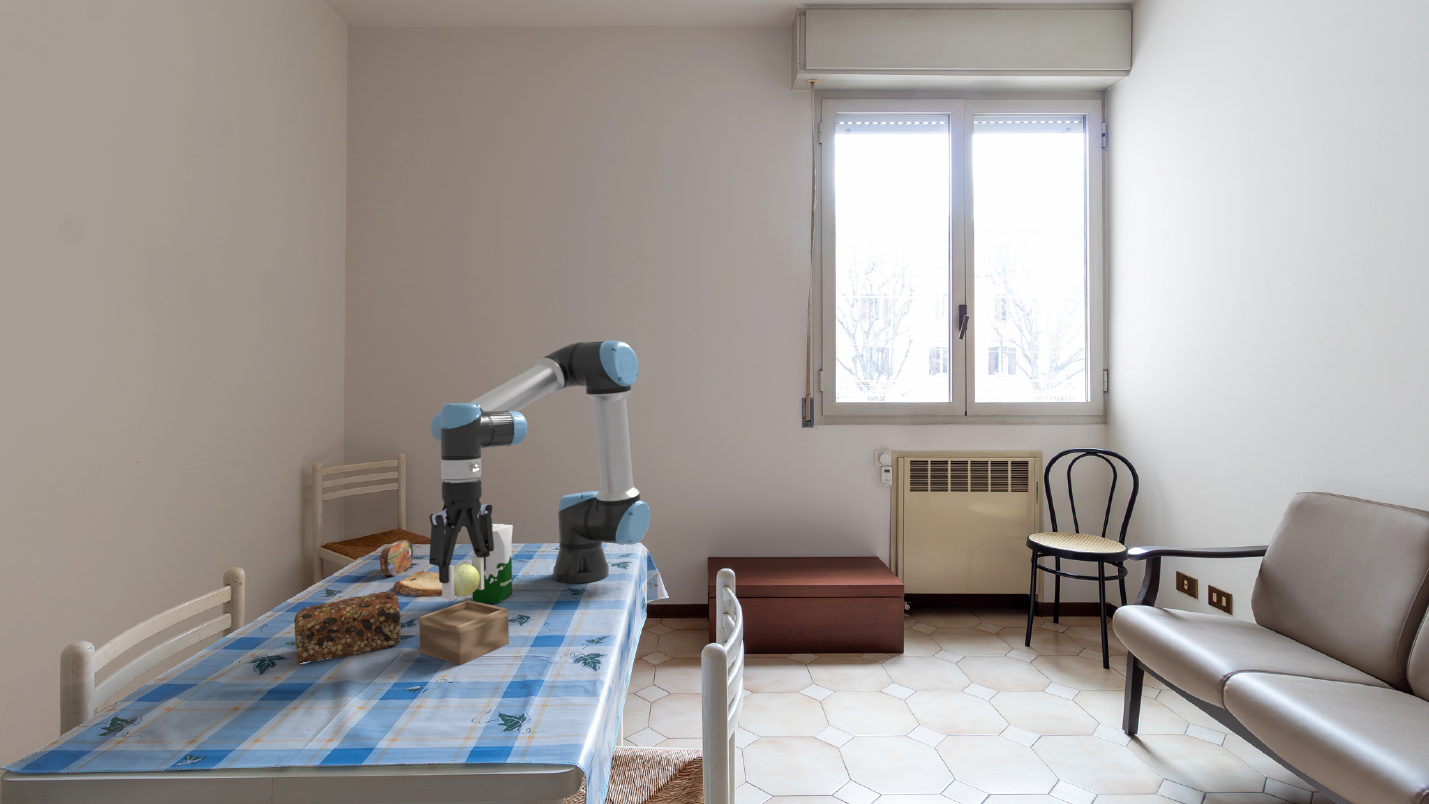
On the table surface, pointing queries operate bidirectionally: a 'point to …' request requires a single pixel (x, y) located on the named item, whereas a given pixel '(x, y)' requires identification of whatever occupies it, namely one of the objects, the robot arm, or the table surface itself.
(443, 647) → the wooden box
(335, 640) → the bread
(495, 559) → the milk carton
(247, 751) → the table surface
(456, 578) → the tennis ball
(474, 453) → the robot arm
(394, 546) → the tin
